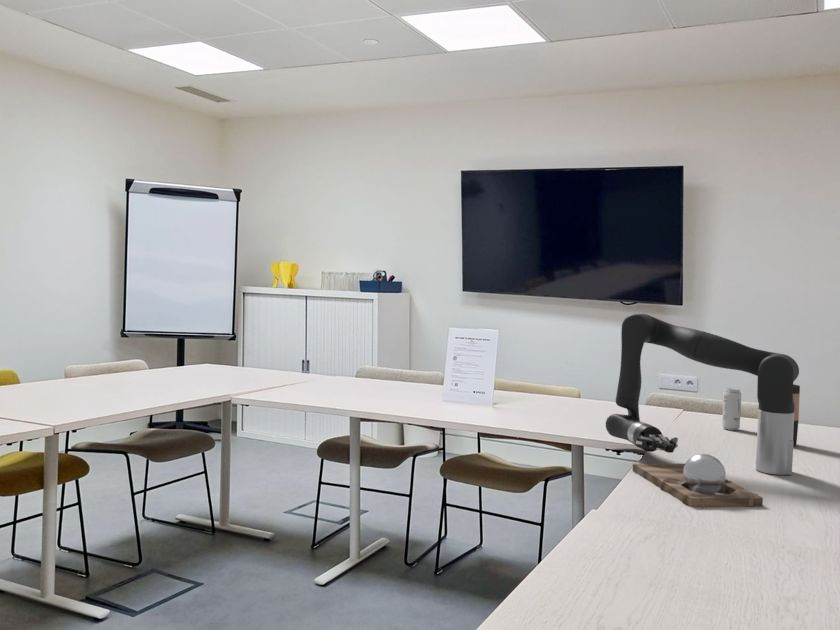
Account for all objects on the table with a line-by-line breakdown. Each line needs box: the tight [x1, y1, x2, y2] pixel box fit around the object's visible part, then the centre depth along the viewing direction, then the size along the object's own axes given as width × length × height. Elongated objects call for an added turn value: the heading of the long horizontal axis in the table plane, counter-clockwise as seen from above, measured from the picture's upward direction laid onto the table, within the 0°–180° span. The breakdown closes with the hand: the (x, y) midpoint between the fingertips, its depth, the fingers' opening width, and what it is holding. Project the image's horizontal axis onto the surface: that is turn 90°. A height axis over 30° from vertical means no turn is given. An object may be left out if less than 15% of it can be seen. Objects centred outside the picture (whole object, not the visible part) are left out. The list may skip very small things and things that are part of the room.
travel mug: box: [793, 383, 801, 447], centre depth 256 cm, size 8×8×20 cm
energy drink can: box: [721, 387, 742, 431], centre depth 281 cm, size 6×6×15 cm
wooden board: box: [632, 463, 764, 508], centre depth 197 cm, size 34×19×2 cm, turn 7°
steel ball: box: [683, 453, 727, 494], centre depth 191 cm, size 10×10×10 cm
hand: (670, 448), depth 210 cm, fingers closed
